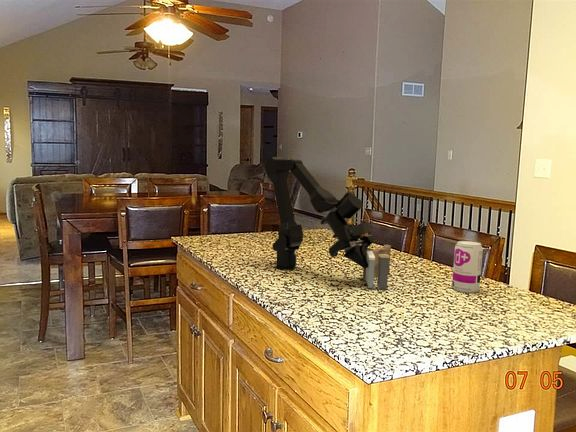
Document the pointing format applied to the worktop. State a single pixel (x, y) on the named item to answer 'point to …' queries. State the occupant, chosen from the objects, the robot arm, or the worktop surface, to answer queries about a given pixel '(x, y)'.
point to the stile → (383, 271)
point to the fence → (380, 251)
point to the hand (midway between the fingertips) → (366, 267)
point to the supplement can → (467, 266)
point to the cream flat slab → (370, 269)
